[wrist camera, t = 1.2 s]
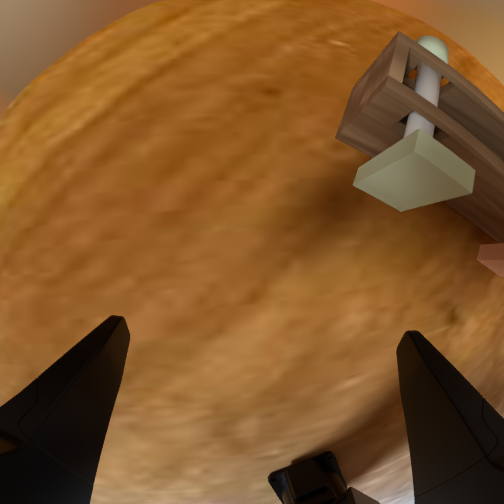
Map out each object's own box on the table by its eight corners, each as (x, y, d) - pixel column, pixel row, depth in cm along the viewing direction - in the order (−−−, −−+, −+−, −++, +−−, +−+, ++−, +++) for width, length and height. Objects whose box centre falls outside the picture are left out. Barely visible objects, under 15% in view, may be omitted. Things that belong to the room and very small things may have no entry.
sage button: (400, 211, 21) (471, 193, 13) (352, 185, 21) (414, 151, 13) (428, 82, 22) (478, 42, 14) (390, 57, 22) (434, 8, 14)
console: (498, 243, 26) (560, 239, 17) (335, 137, 24) (385, 86, 15) (505, 196, 26) (563, 183, 17) (353, 87, 24) (398, 31, 15)
